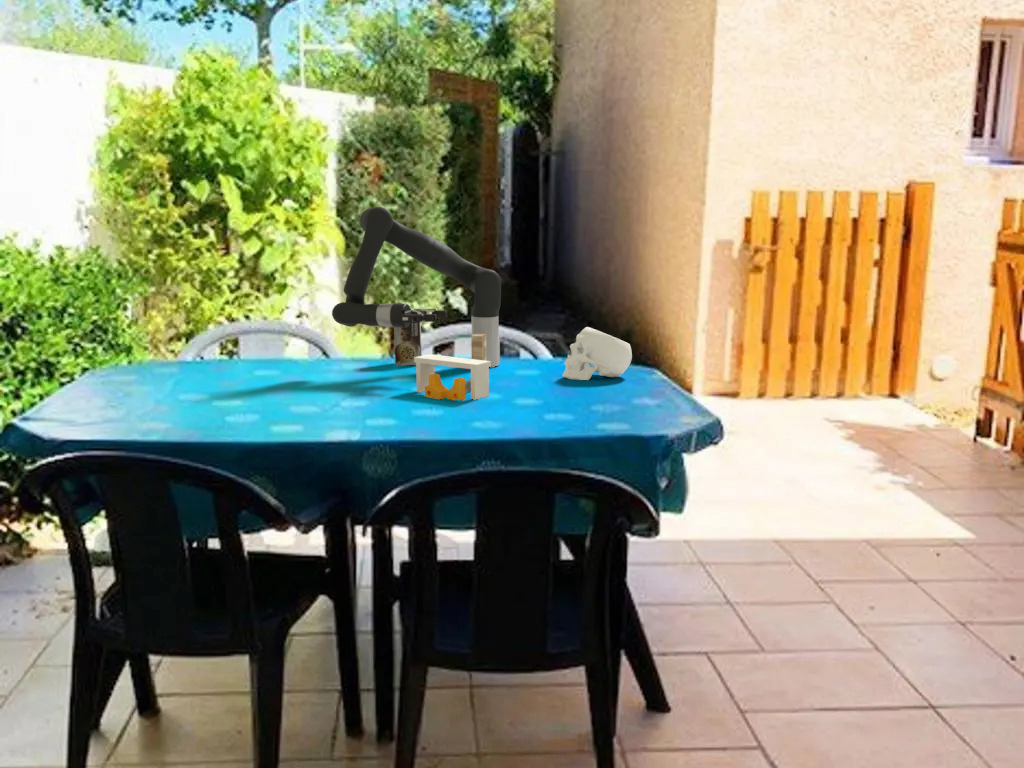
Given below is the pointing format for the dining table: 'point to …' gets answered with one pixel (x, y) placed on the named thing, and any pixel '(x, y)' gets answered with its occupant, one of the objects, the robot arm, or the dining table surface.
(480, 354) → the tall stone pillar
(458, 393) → the pipe clamp
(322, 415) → the dining table surface
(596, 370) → the skull planter
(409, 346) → the coffee box
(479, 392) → the shelf
